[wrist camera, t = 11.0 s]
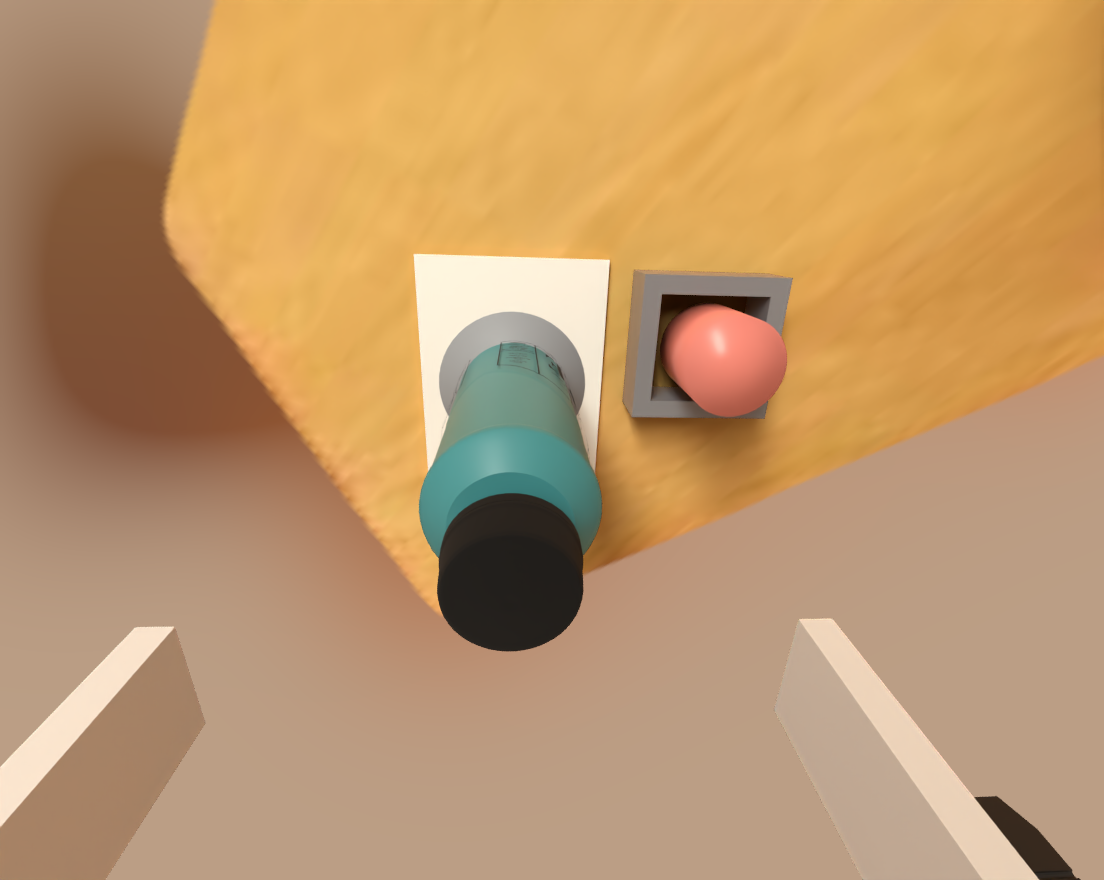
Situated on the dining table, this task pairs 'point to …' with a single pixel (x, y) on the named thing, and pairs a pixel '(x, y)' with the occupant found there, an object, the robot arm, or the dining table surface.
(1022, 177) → the dining table surface
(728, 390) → the button
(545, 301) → the paper card
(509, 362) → the beverage bottle
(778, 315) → the button base
